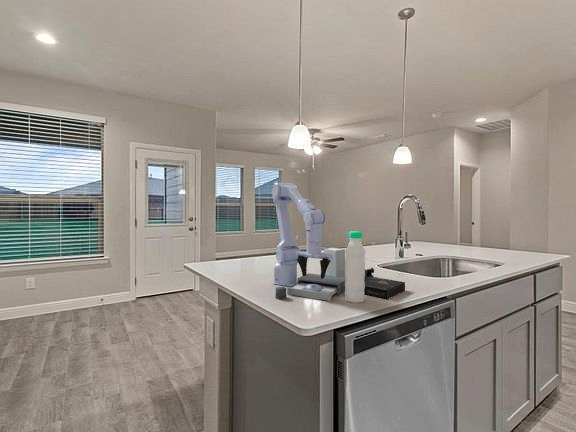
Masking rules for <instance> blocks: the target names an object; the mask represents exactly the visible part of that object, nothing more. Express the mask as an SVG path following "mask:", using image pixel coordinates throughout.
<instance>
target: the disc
mask: <svg viewBox="0 0 576 432" xmlns="http://www.w3.org/2000/svg"><path fill="white" fill-rule="evenodd" d="M306 290H309V291H315V292H320V291H321V286H320V285H317V284H309V285H306Z"/></svg>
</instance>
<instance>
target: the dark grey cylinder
mask: <svg viewBox="0 0 576 432" xmlns="http://www.w3.org/2000/svg"><path fill="white" fill-rule="evenodd" d="M275 299H277V300H285V299H287V287H286V286H276V287H275Z"/></svg>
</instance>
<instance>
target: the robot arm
mask: <svg viewBox="0 0 576 432" xmlns="http://www.w3.org/2000/svg"><path fill="white" fill-rule="evenodd" d="M271 195H272V196H271V197H272V202H273V203H274V204H275V211H276V217H277V224H278V229H279V230H278V231H279V236H280V242H279V243H278V244H277V246H276V249H275V250H276V251H275V257H276V261H277V262H276V264H275V265H274V267H273V268H274V270H273V273H274V274H273V277H274V278H273V283H272V284H273V285H277V286H283V287H290V288H292V287H294V286H296V285H297V278H298V265H299V267H300V268H299V269H300V271H301V275H302V276H306V274H308V273H307V268H308V266H307V264H308V259H309V258H311V259H319V264H320V275H321V279H323V278H325V273H326V270H327V267H328V265H329V263H330V261H331V260H332V259H333V254H326V253H324V252H322V244H323V243H322V241H323V240H322V236H323V235H322V233H323V231H322V230H323V227H322V226H323V225H324V223H325V221H326V214H325V212H324V210H322V209H318V208H316V206H315V205H313V203H311V200H310V199H309V198H304V197H303V196H302V195H301V193H300V192H299V190H298V186H297V185H296V183H295V182H294V183H293V182H291V183H290V182H289V183H288V182H274V183H273V185H272V188H271ZM292 202H294V203H295V204H296V209H297V211H298V212H299V213H300V214H301V216H302V217H303V222H304V225H305V226H304V228H305V230H306V242H305V243H306V246H305V247H306V249H305V250H306V251H301V250H300V247H299V246H300V245H299V243H297V242H296V241H295V240H294V239H293V233H292V227H291V220H290V213H289V209H288V205H289V204H291V203H292Z"/></svg>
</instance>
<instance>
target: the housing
mask: <svg viewBox="0 0 576 432" xmlns="http://www.w3.org/2000/svg"><path fill="white" fill-rule="evenodd" d="M345 280H346V279H345V278H344V277H336V276H327V275H325V278H323V279H321V274H317V273H309V272H308V273H307V274H306V276H300V277H297V285H298V284H300V283H308V284H317V285H322V286H329V287H337V288H338V292H336V293H337V296H341V295H342V294H343V293H345Z"/></svg>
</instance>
